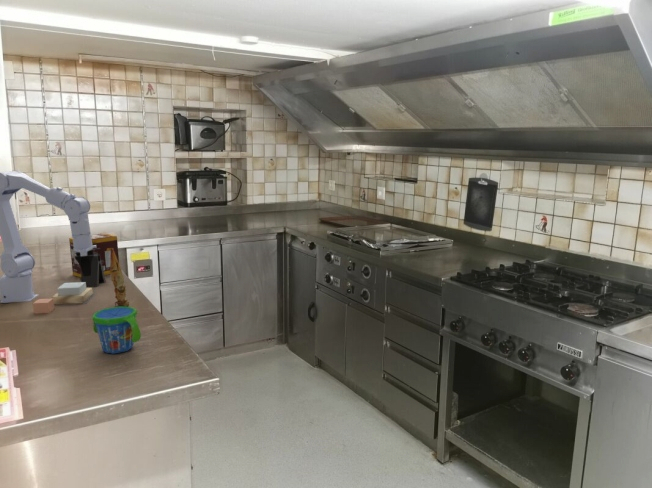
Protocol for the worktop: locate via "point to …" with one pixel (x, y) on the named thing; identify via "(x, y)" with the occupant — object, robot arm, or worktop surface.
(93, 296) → the rubber mat
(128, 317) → the snack cup
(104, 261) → the supplement box
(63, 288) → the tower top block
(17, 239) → the robot arm
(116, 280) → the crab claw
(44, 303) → the terracotta block
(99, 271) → the phone stand
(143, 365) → the worktop surface
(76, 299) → the oak slab
